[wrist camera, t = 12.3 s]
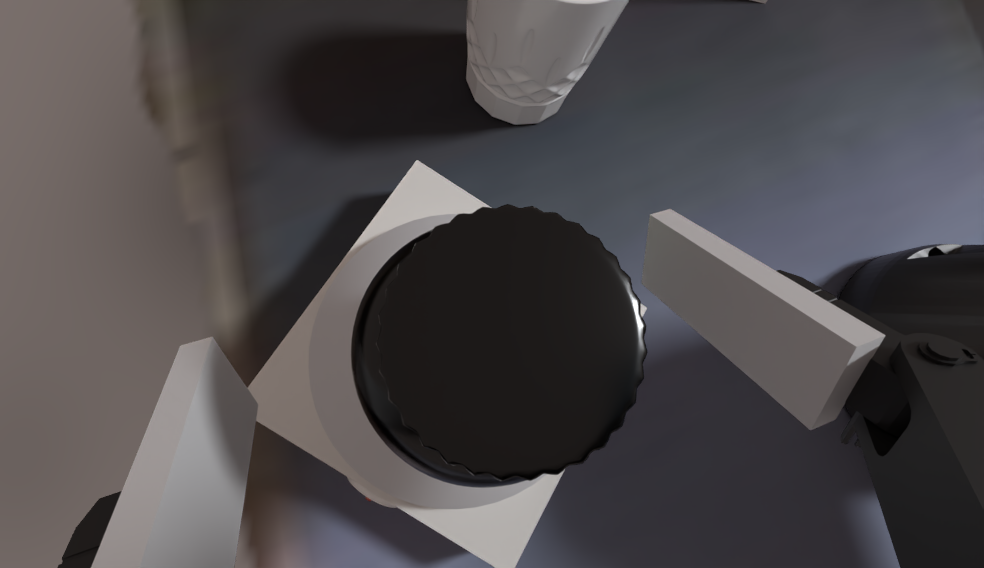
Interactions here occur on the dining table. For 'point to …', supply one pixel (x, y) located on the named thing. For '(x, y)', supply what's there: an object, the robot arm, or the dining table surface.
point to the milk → (761, 0)
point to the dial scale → (337, 410)
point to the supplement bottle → (498, 348)
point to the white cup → (532, 52)
